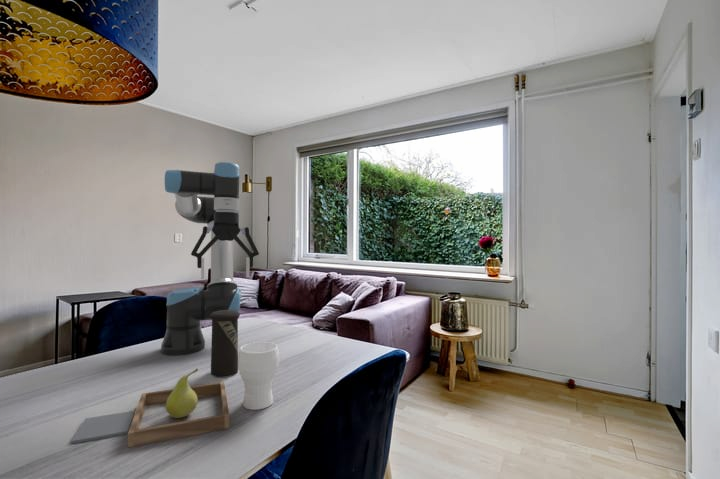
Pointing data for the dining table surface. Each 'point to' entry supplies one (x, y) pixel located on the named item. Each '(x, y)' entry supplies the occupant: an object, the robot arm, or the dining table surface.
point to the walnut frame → (179, 428)
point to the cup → (258, 373)
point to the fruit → (182, 399)
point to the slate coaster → (104, 426)
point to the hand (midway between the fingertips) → (225, 277)
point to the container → (224, 343)
